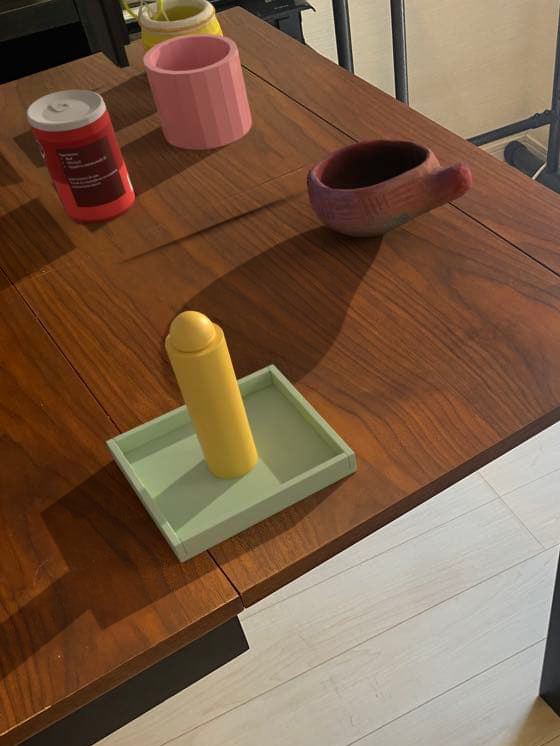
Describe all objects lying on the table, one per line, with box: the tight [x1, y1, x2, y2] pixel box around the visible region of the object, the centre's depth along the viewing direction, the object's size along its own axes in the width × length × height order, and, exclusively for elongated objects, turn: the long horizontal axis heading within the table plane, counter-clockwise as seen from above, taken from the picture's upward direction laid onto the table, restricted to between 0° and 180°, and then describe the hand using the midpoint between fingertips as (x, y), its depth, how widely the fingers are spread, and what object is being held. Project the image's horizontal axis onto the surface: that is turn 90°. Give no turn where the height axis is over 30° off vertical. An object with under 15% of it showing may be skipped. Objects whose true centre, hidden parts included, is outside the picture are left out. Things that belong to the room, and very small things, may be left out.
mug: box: [121, 0, 224, 56], centre depth 108 cm, size 13×11×12 cm
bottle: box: [164, 310, 258, 479], centre depth 61 cm, size 4×4×14 cm
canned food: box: [25, 89, 136, 226], centre depth 88 cm, size 8×8×11 cm
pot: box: [142, 34, 253, 151], centre depth 98 cm, size 11×11×9 cm
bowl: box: [306, 138, 474, 238], centre depth 84 cm, size 16×13×8 cm
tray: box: [105, 363, 358, 564], centre depth 66 cm, size 15×13×2 cm
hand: (42, 82), depth 52 cm, fingers open, 9 cm apart
